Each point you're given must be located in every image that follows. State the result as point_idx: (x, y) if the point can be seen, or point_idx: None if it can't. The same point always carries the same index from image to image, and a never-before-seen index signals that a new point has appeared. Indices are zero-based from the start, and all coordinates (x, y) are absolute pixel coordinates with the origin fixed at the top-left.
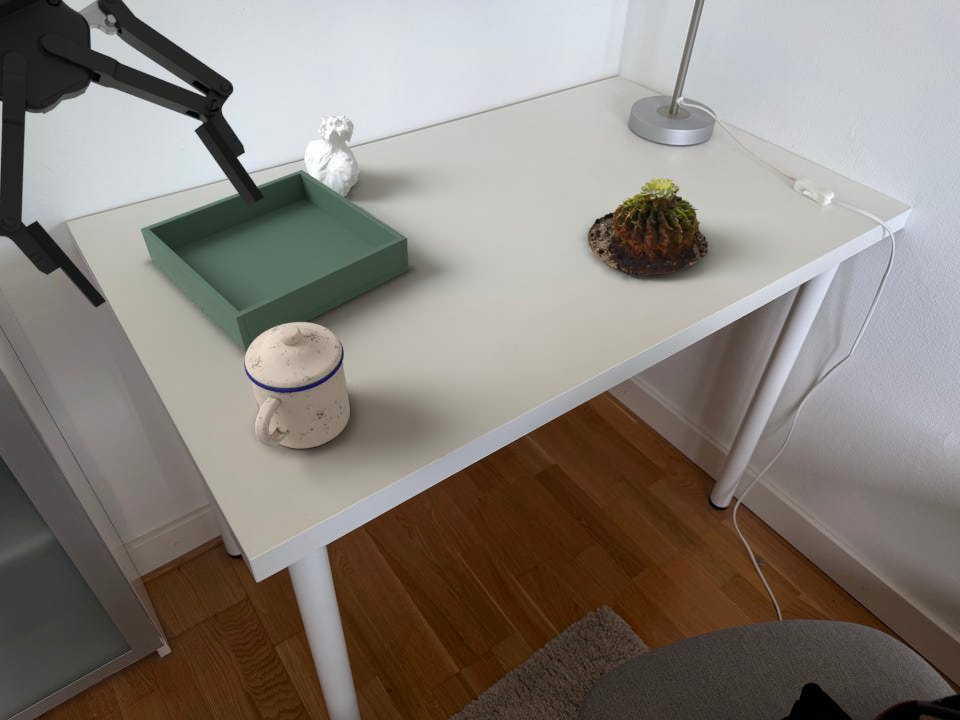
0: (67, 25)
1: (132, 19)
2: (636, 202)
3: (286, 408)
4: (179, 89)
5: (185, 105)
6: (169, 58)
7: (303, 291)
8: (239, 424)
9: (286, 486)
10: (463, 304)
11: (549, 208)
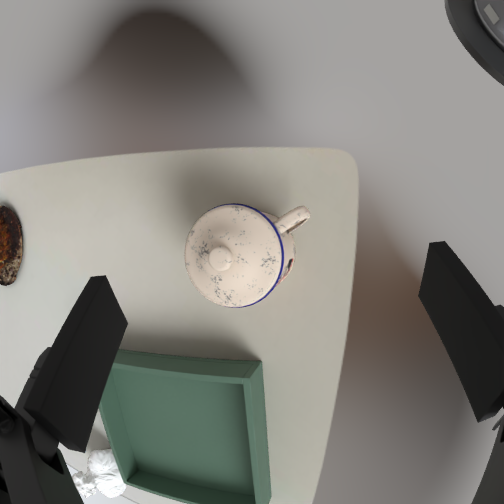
0: None
1: None
2: None
3: (271, 220)
4: (13, 489)
5: (30, 461)
6: None
7: (182, 370)
8: (309, 283)
9: (309, 192)
10: None
11: (20, 323)
